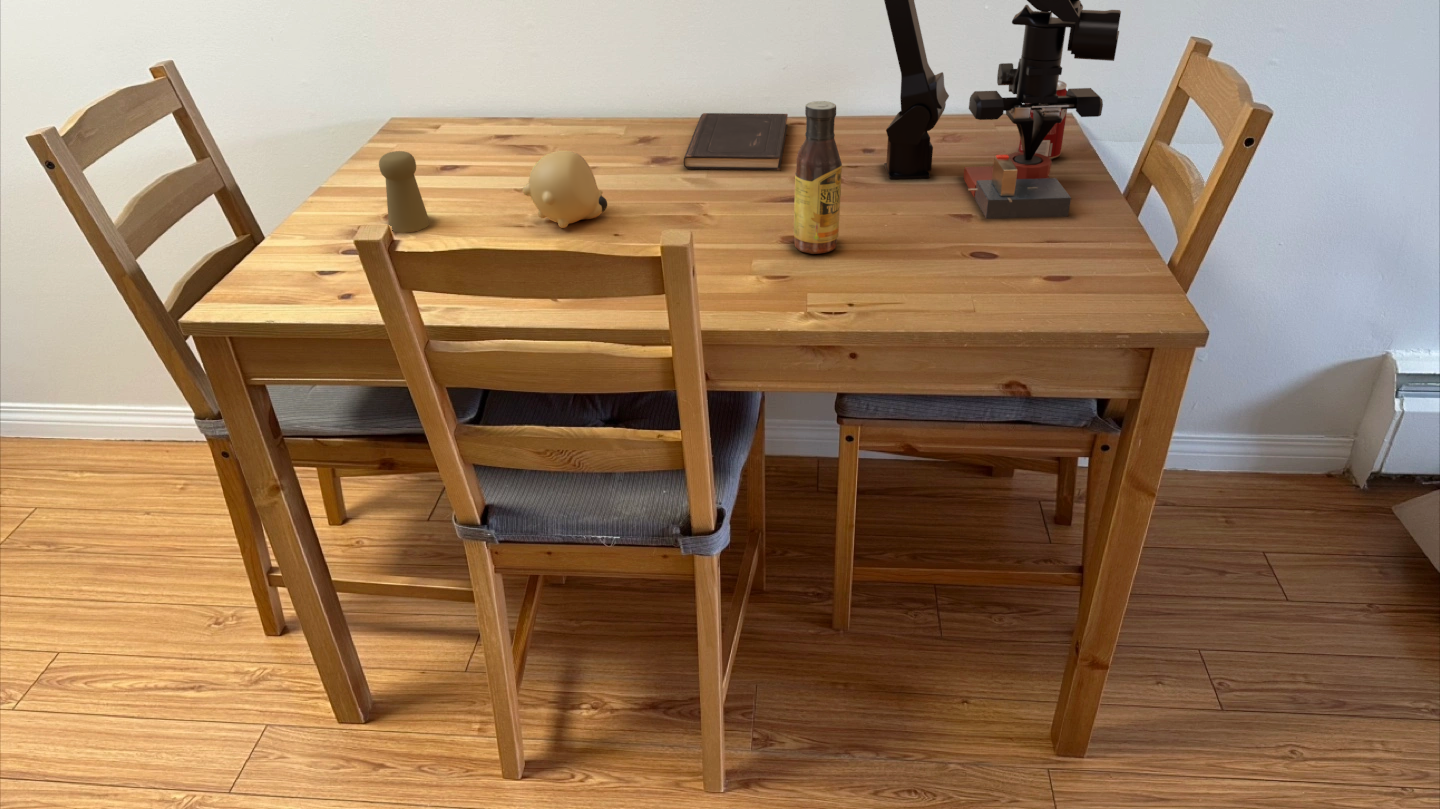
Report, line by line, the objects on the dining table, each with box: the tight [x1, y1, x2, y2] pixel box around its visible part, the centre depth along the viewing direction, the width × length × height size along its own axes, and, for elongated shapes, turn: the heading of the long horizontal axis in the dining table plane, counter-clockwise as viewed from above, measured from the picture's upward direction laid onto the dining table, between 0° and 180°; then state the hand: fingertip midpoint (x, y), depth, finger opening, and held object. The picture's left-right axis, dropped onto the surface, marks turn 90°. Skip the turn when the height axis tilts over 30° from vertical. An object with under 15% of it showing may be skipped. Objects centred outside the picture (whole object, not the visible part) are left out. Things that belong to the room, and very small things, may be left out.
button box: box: [962, 151, 1053, 198], centre depth 164 cm, size 12×8×4 cm
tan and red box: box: [992, 154, 1017, 196], centre depth 155 cm, size 6×2×4 cm, turn 0°
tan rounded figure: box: [522, 149, 608, 229], centre depth 156 cm, size 10×12×11 cm
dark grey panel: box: [967, 177, 1072, 220], centre depth 157 cm, size 14×10×3 cm
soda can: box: [1018, 79, 1068, 161], centre depth 173 cm, size 7×7×12 cm
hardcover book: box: [682, 112, 789, 171], centre depth 184 cm, size 16×23×2 cm
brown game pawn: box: [378, 150, 431, 234], centre depth 156 cm, size 6×6×11 cm
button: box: [1014, 155, 1041, 165], centre depth 164 cm, size 4×4×2 cm
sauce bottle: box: [793, 100, 843, 255], centre depth 143 cm, size 7×6×20 cm
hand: (1027, 158), depth 164 cm, fingers closed, pressing on button
